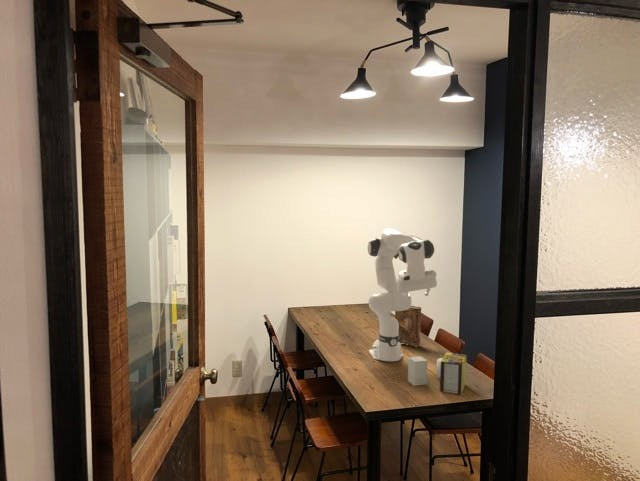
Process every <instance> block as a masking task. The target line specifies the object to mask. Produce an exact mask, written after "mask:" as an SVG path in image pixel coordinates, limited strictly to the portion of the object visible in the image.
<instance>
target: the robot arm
mask: <svg viewBox="0 0 640 481" xmlns="http://www.w3.org/2000/svg"><path fill="white" fill-rule="evenodd" d="M367 251H368V252H367V253H368V255H370V257H374V258H375V263H374V266H375V275H376V281H377V285H378V286H379V288H381V289H383V290H385V291H386V292H379V293H374V294H371V295H370V297H369V299H368V306H369V308H370V310H371V311H372V312H374V314H376V316H377V318H378V322H379V333H378V335H377V336H378V338H377V339H376V340H375V341H374V342H373V343H372V345H371V349H369V350H368V353H369V354H370V355H371V357H372V358H373V360H377V361H384V362H398V361H400V360H401V359H402V358H404V354H402V344H401V343H400V342H399V322H398V320H397V319H395V317H393V316H391V312H395V311H404V310H408V309H409V308H410V307H411V306H412V304H413V301H412V298H411V297H412V296H411V295H410V294H409V293H410V292H414V291H421V290H425V291H424V296H425V297H427V296H429V292H430V291H431V289H432V288H436V287H437V286H438V282H437V278H436V277H437V271H436V270H433V269H431V270H426V267H425V259H426V260H427V259H430V258H432V257H433V255H434V253H435V246H434V244H433V242H432V241H431V240H429V239H428V238H426V239H421V238H420V237H417V236H414V235H411V234H406V233H403V232H400V231H398V230H397V229H394V228H385V229H384V230H383V231H382V233H381V236H380V237H375V238H373V239H370V240H369V241H368V243H367ZM393 259H395V260H397V259H399V261H401V262H403V263H405V264H406V265H407V267H406V268H405V269H404V270H401V271H400V272H398V278H396V273H395V268H394V264H393Z"/></svg>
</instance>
